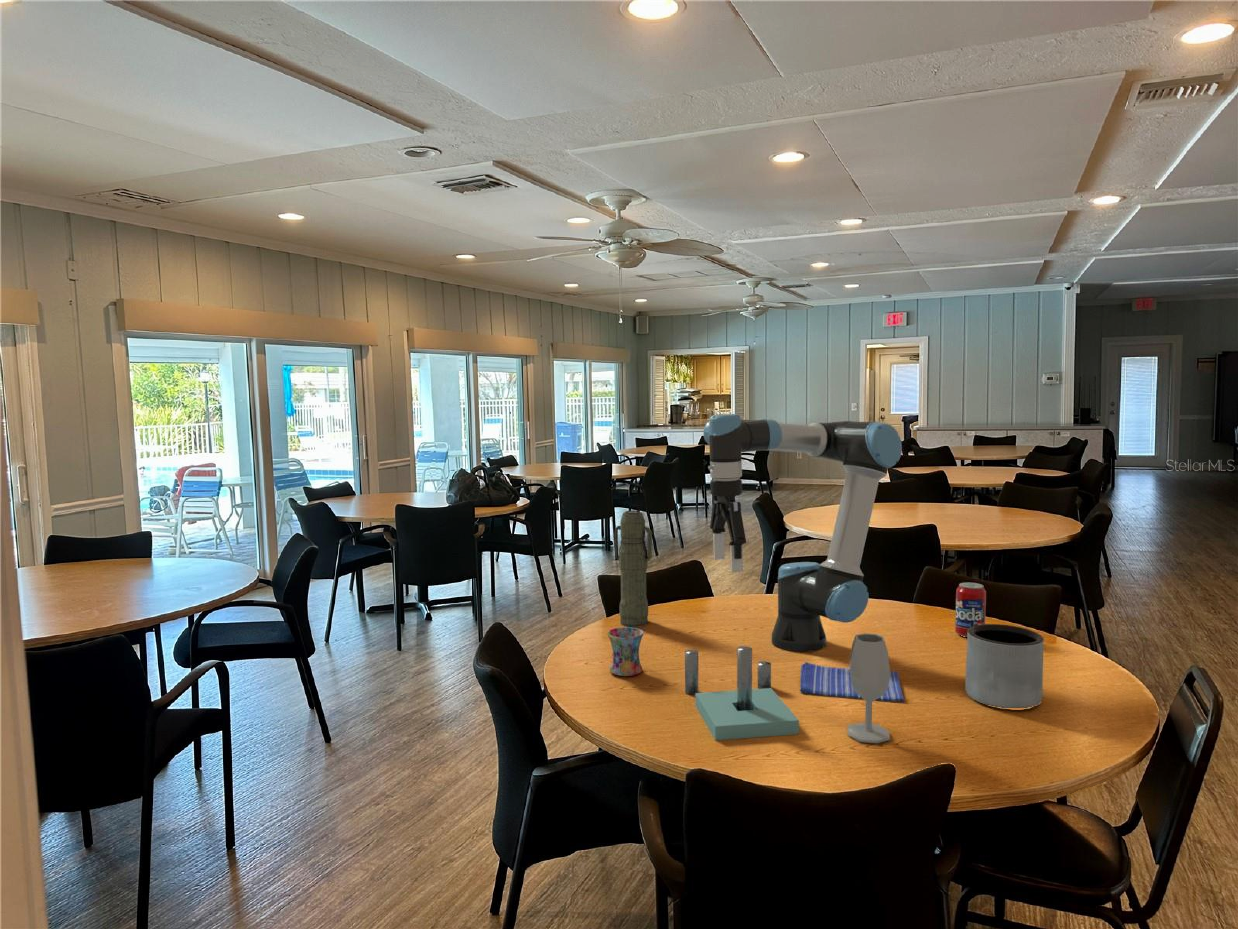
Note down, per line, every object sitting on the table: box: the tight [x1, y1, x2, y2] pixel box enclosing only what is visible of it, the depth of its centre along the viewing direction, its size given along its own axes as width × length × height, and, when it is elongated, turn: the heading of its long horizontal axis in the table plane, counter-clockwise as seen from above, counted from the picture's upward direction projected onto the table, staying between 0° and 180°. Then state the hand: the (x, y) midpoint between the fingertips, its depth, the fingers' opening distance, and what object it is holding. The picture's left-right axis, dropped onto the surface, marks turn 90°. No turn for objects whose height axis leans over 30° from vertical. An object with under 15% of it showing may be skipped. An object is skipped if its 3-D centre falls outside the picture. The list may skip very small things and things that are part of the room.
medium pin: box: [684, 649, 700, 696], centre depth 188 cm, size 3×3×10 cm
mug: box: [607, 626, 645, 677], centre depth 203 cm, size 12×9×11 cm
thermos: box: [613, 510, 653, 628], centre depth 243 cm, size 9×12×35 cm
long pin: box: [736, 645, 753, 711], centre depth 172 cm, size 3×3×16 cm
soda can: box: [954, 581, 987, 638], centre depth 227 cm, size 8×8×15 cm
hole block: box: [694, 687, 800, 741], centre depth 172 cm, size 18×18×3 cm
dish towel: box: [799, 661, 905, 703], centre depth 191 cm, size 17×24×3 cm
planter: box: [964, 623, 1045, 708], centre depth 181 cm, size 16×16×16 cm
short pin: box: [757, 660, 772, 689], centre depth 190 cm, size 3×3×6 cm
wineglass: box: [847, 632, 891, 744], centre depth 162 cm, size 9×9×21 cm
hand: (727, 565), depth 190 cm, fingers open, 13 cm apart
